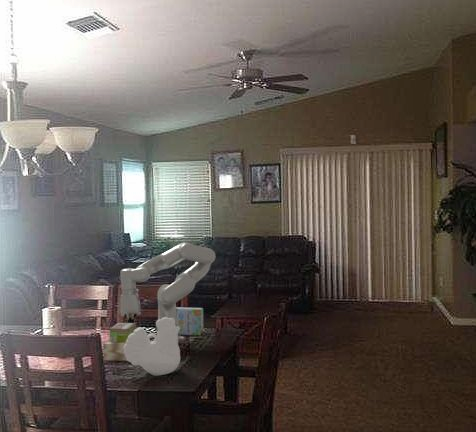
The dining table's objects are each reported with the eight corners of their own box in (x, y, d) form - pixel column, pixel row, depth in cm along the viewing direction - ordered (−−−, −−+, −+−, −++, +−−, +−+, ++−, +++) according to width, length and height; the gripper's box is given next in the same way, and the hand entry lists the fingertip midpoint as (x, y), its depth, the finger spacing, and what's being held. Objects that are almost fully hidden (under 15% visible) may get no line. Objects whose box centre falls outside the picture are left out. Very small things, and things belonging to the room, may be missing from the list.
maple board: (129, 358, 281) (129, 342, 281) (128, 360, 278) (127, 343, 278) (105, 358, 282) (104, 342, 281) (103, 360, 279) (103, 343, 278)
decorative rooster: (179, 366, 266) (179, 313, 266) (181, 377, 251) (181, 319, 250) (124, 369, 262) (123, 315, 262) (123, 380, 247) (122, 322, 246)
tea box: (129, 358, 281) (128, 328, 281) (108, 358, 282) (108, 328, 282) (136, 350, 296) (136, 322, 296) (117, 350, 297) (117, 322, 297)
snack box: (203, 333, 335) (203, 307, 334) (200, 335, 329) (200, 309, 329) (169, 332, 339) (168, 306, 339) (165, 334, 334) (165, 308, 334)
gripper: (144, 289, 309) (147, 323, 310) (116, 291, 310) (119, 325, 311) (141, 292, 302) (144, 327, 302) (113, 294, 302) (115, 328, 303)
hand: (131, 326), depth 307 cm, fingers closed
